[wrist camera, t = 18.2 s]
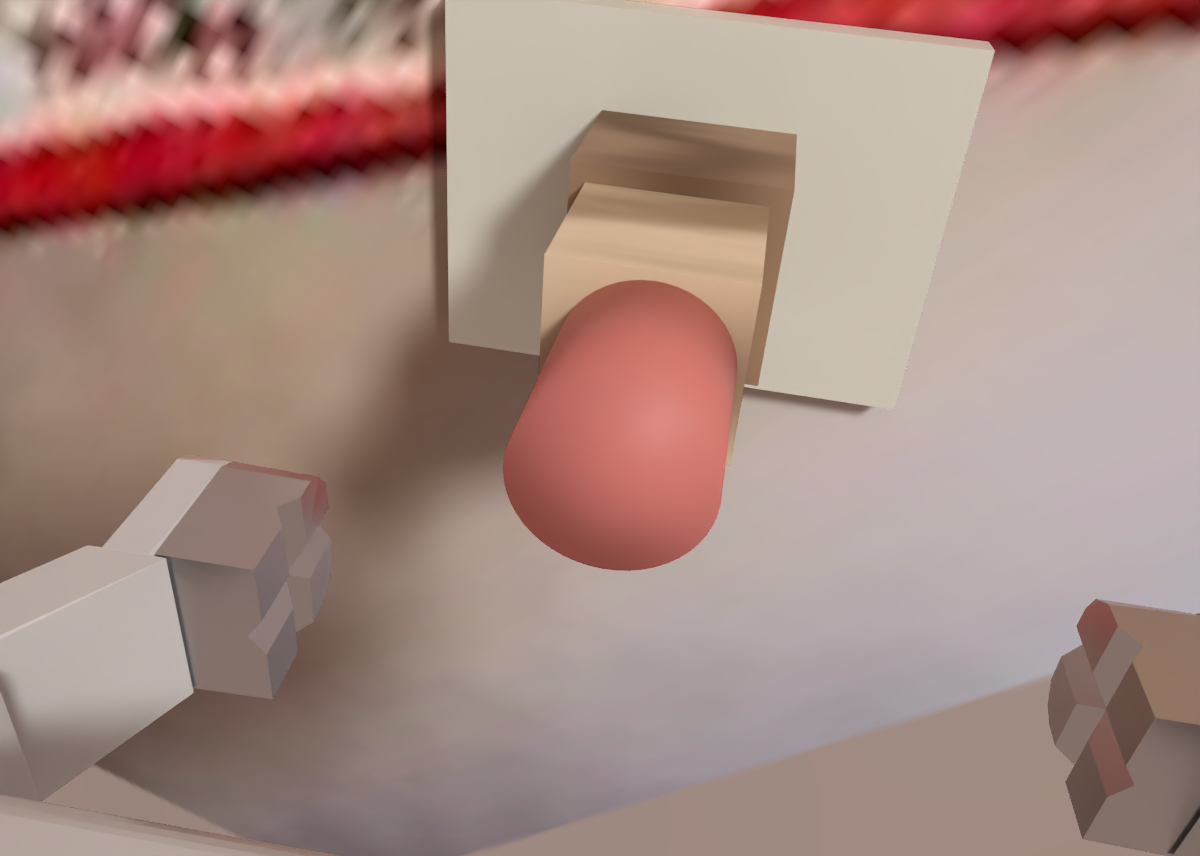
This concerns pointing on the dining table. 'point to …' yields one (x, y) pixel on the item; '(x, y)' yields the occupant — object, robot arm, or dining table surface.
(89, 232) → the dining table surface
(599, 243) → the beech cube
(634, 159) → the walnut base
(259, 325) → the dining table surface
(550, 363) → the red capsule
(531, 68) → the board
